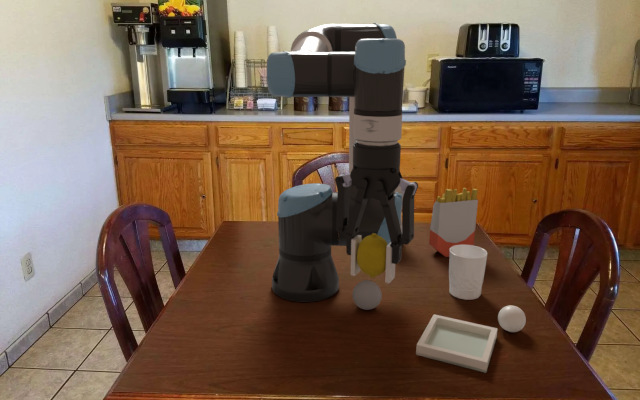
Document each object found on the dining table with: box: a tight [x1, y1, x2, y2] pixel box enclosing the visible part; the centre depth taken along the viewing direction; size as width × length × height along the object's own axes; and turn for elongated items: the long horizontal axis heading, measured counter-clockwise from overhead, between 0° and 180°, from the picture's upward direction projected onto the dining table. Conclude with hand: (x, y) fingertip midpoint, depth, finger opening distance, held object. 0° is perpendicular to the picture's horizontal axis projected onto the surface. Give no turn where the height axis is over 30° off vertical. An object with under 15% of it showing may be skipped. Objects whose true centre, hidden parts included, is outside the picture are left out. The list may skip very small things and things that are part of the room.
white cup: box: [448, 245, 488, 301], centre depth 112 cm, size 8×8×10 cm
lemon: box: [357, 233, 388, 279], centre depth 86 cm, size 6×6×8 cm
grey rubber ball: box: [351, 279, 383, 311], centre depth 106 cm, size 6×6×6 cm
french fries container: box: [428, 187, 479, 258], centre depth 133 cm, size 5×11×18 cm, turn 107°
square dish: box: [415, 314, 498, 374], centre depth 93 cm, size 12×12×2 cm
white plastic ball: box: [497, 304, 527, 333], centre depth 97 cm, size 5×5×5 cm
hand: (372, 275), depth 87 cm, fingers closed on lemon, 5 cm apart
